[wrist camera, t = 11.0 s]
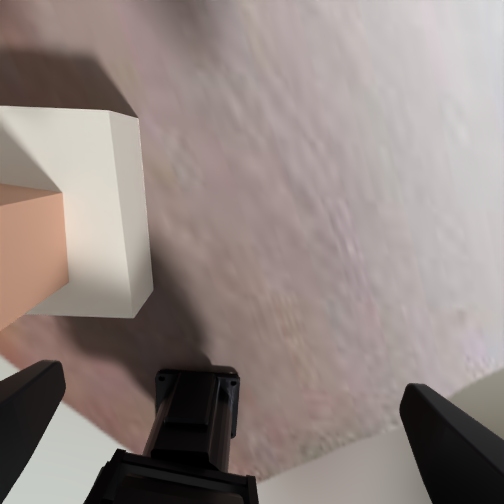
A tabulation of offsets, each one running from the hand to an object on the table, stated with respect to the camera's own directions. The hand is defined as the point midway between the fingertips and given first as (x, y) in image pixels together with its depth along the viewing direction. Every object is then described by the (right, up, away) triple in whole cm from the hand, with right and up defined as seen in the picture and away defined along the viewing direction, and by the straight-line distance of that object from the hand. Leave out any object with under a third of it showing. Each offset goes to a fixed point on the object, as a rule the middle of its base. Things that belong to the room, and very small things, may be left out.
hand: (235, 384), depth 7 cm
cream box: (-12, +6, +11) cm, 17 cm away
